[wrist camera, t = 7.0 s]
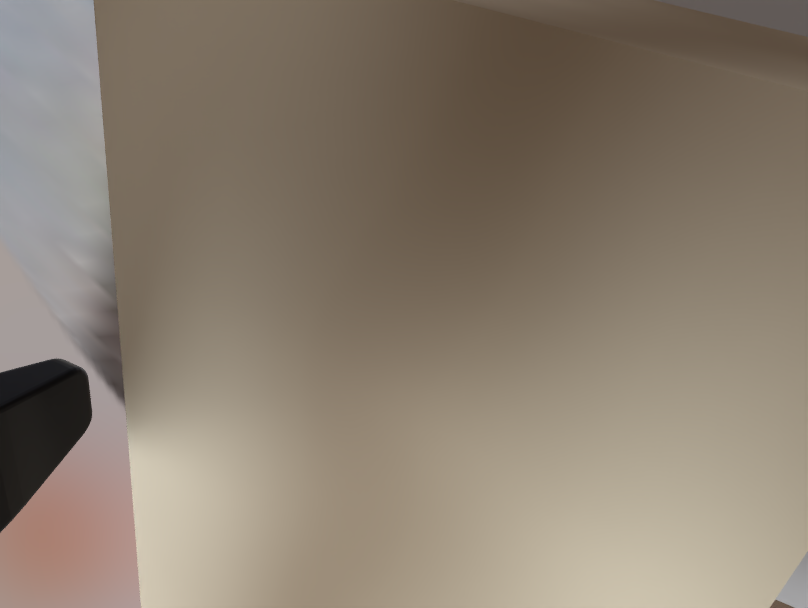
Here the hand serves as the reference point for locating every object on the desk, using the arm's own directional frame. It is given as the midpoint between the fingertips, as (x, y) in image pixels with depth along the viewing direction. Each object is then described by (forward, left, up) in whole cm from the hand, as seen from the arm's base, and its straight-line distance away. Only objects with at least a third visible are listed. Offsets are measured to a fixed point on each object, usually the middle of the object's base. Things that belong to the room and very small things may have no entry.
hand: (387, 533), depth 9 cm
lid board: (0, 0, -2) cm, 2 cm away
